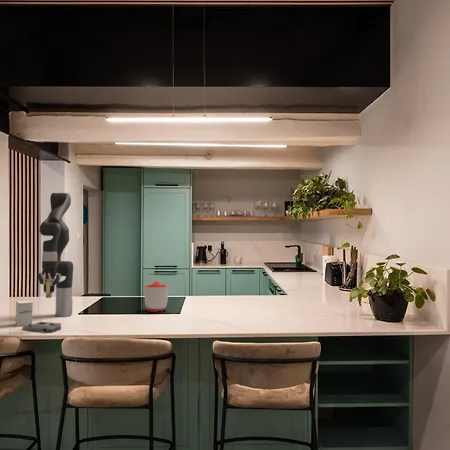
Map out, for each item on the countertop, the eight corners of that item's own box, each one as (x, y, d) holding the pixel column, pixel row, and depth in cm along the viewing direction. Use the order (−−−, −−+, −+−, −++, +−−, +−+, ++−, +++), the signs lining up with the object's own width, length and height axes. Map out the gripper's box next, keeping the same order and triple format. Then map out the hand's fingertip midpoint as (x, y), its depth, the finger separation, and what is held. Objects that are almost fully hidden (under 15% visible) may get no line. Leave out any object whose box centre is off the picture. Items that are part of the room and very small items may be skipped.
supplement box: (17, 326, 227) (18, 303, 227) (15, 323, 233) (15, 301, 233) (32, 324, 231) (33, 302, 231) (29, 322, 237) (30, 300, 237)
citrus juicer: (170, 308, 285) (171, 279, 285) (164, 313, 268) (165, 282, 268) (148, 307, 287) (149, 278, 287) (140, 312, 269) (141, 281, 270)
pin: (48, 296, 225) (48, 278, 225) (53, 297, 224) (54, 278, 224) (43, 297, 221) (44, 278, 222) (49, 298, 221) (50, 279, 221)
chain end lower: (31, 326, 227) (32, 322, 227) (52, 328, 224) (52, 324, 224) (22, 329, 220) (22, 325, 220) (43, 331, 217) (43, 327, 217)
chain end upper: (40, 327, 226) (40, 320, 226) (60, 329, 222) (61, 322, 222) (31, 330, 219) (31, 323, 219) (52, 332, 215) (52, 325, 216)
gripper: (65, 260, 225) (64, 292, 225) (42, 259, 228) (41, 290, 228) (57, 260, 218) (56, 294, 218) (33, 260, 221) (32, 292, 221)
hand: (48, 292), depth 223 cm, fingers closed on pin, 3 cm apart
